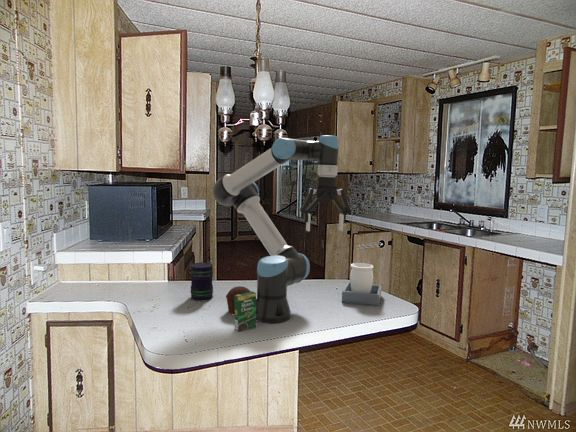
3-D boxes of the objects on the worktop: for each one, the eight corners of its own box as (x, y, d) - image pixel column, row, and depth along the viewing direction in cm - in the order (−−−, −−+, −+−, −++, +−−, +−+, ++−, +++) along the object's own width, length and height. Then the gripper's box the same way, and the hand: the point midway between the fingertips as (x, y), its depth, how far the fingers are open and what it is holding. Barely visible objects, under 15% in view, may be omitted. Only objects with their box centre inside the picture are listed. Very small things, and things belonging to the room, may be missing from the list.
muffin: (223, 308, 171) (223, 284, 169) (248, 305, 175) (249, 282, 173) (229, 318, 160) (229, 293, 158) (257, 315, 164) (257, 290, 162)
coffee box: (237, 332, 146) (237, 296, 144) (233, 329, 148) (233, 294, 146) (256, 327, 151) (257, 292, 149) (252, 325, 153) (252, 290, 151)
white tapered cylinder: (374, 301, 183) (375, 268, 181) (350, 300, 183) (352, 267, 181) (369, 294, 193) (371, 262, 191) (347, 293, 193) (349, 262, 192)
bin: (341, 302, 182) (342, 291, 181) (347, 292, 197) (347, 282, 197) (378, 306, 177) (379, 295, 177) (381, 295, 193) (381, 285, 192)
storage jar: (200, 302, 177) (200, 268, 175) (185, 297, 183) (185, 265, 181) (217, 297, 185) (217, 264, 183) (203, 292, 191) (203, 261, 189)
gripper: (298, 175, 152) (296, 232, 154) (361, 177, 158) (357, 232, 160) (293, 175, 159) (291, 229, 162) (353, 176, 165) (350, 229, 168)
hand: (324, 230), depth 161 cm, fingers open, 13 cm apart
